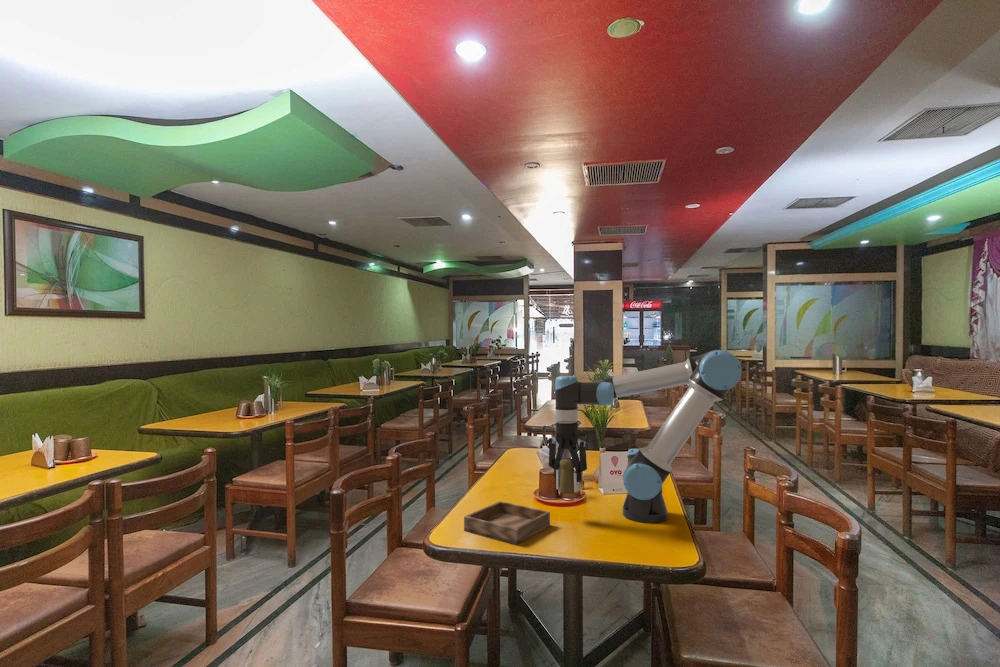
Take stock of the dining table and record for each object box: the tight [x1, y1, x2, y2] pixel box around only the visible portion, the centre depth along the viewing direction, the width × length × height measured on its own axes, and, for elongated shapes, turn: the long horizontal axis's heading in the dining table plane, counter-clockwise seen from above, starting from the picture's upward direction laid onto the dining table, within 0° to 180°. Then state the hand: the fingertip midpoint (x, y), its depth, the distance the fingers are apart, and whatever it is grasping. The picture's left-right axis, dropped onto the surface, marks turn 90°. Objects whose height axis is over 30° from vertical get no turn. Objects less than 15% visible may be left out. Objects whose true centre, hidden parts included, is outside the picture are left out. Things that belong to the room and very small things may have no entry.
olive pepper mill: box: [558, 457, 577, 495], centre depth 174 cm, size 6×6×11 cm
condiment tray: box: [463, 500, 551, 546], centre depth 166 cm, size 20×20×4 cm
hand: (567, 489), depth 174 cm, fingers closed on olive pepper mill, 6 cm apart
